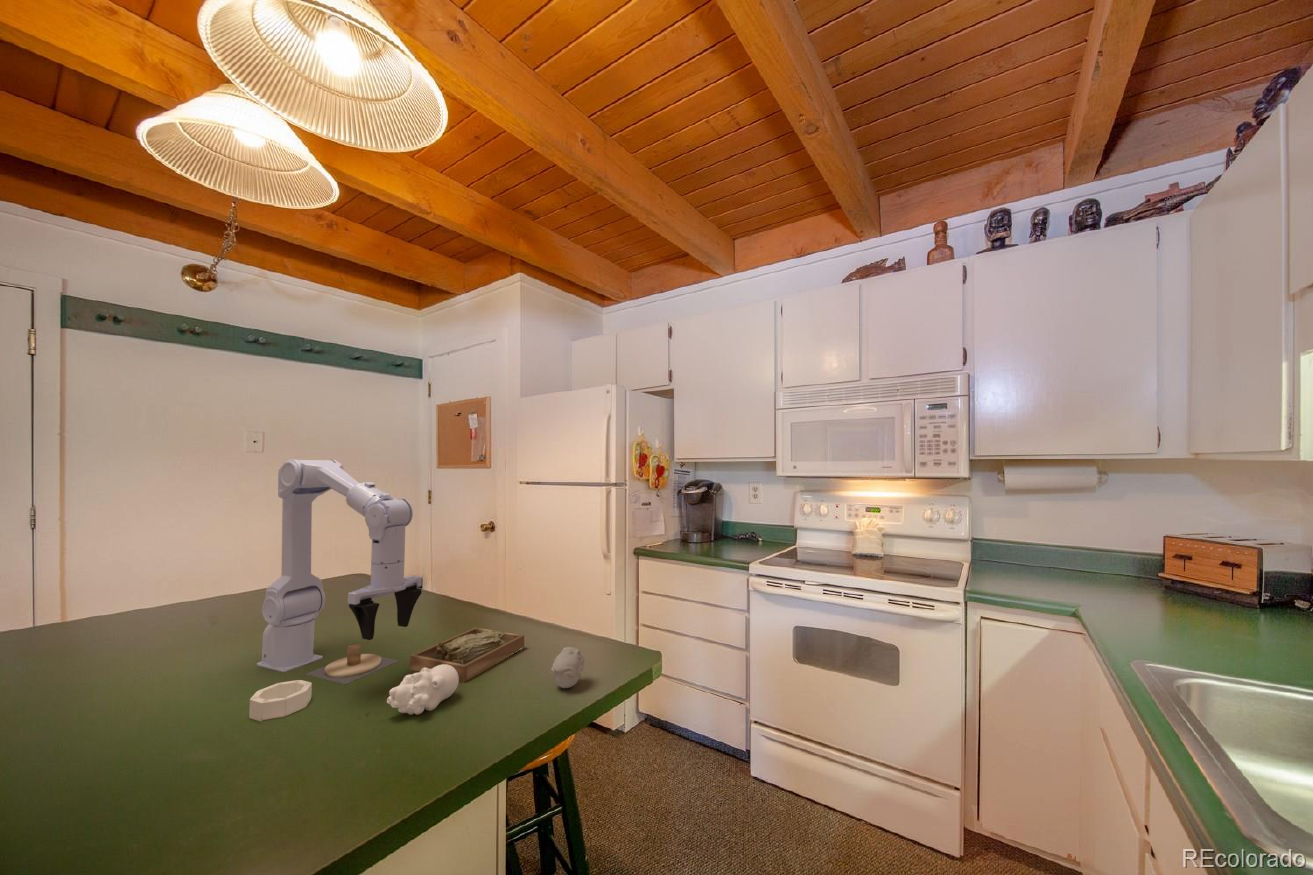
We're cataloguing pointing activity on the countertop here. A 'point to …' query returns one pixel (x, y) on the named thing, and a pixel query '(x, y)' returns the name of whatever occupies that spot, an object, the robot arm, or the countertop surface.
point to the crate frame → (476, 666)
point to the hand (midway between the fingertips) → (386, 632)
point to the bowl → (280, 700)
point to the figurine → (424, 689)
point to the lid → (353, 663)
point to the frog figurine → (567, 667)
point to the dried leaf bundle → (469, 647)
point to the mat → (321, 674)
